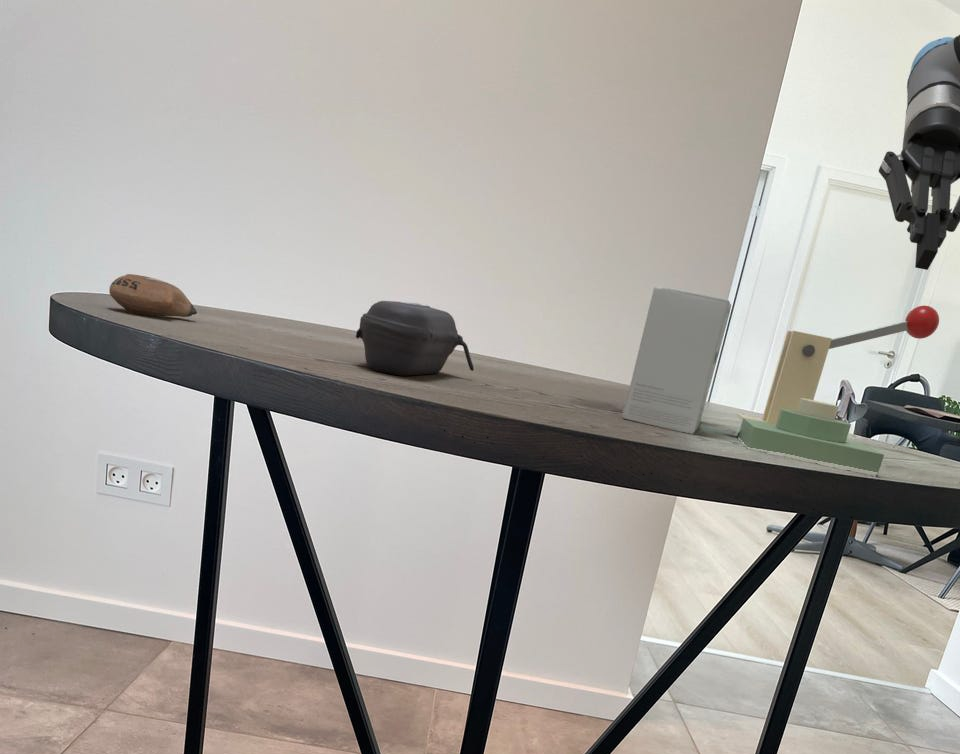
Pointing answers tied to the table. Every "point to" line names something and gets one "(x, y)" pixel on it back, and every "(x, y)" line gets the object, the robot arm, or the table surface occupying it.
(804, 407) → the button
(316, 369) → the table surface
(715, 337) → the white packaging box
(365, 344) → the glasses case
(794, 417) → the button box
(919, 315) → the lever
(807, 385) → the bracket
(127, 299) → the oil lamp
